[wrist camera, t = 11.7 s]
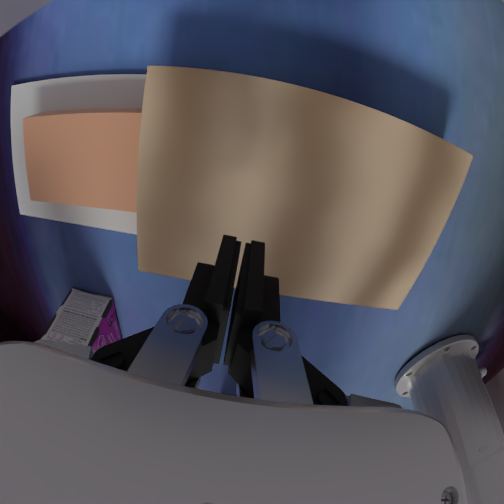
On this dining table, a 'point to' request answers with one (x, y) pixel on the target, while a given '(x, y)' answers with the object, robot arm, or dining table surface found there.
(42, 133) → the block
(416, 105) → the dining table surface
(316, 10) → the dining table surface
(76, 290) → the candy bar box
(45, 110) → the mat
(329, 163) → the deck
